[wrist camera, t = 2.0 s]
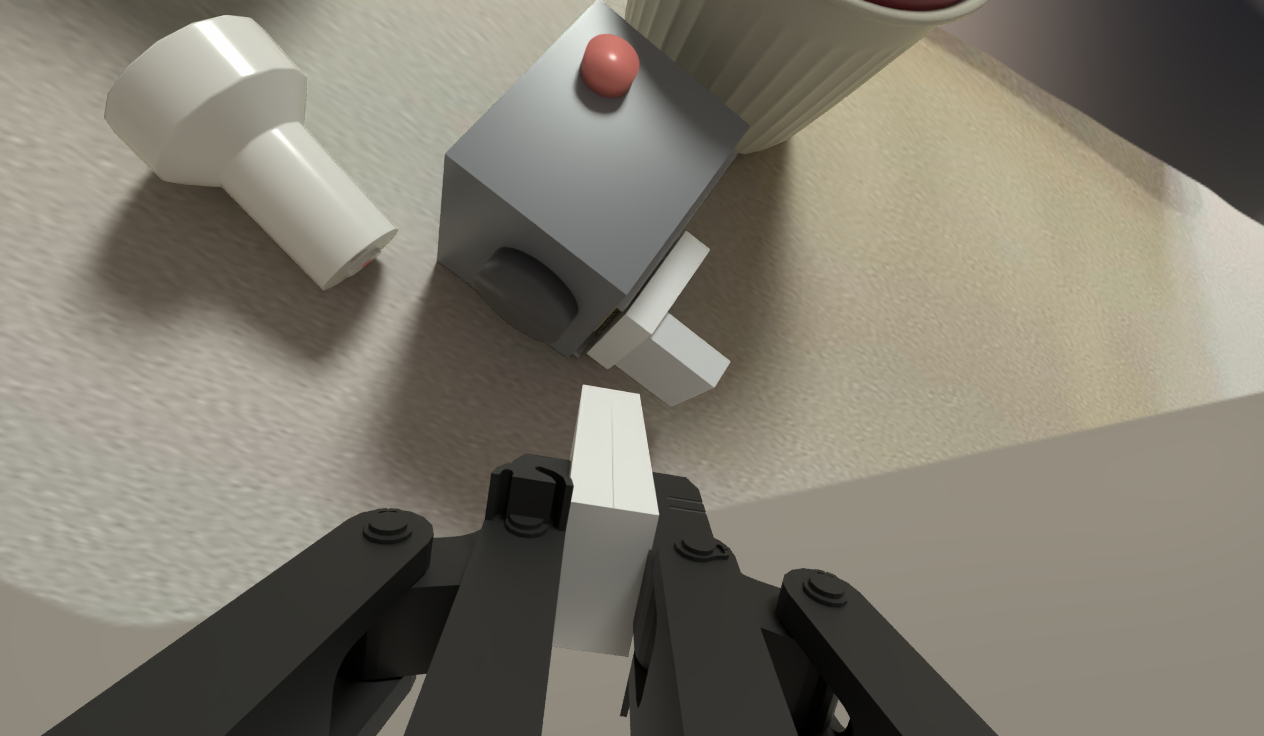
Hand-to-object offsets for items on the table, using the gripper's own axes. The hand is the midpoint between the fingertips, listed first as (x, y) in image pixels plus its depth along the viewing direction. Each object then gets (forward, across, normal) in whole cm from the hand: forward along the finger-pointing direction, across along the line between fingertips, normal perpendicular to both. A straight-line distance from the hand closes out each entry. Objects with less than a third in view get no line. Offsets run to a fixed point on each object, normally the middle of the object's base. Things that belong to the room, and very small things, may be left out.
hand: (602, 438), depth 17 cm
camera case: (+23, -3, +3) cm, 23 cm away
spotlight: (+20, -18, +3) cm, 27 cm away
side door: (+20, +3, -2) cm, 20 cm away
